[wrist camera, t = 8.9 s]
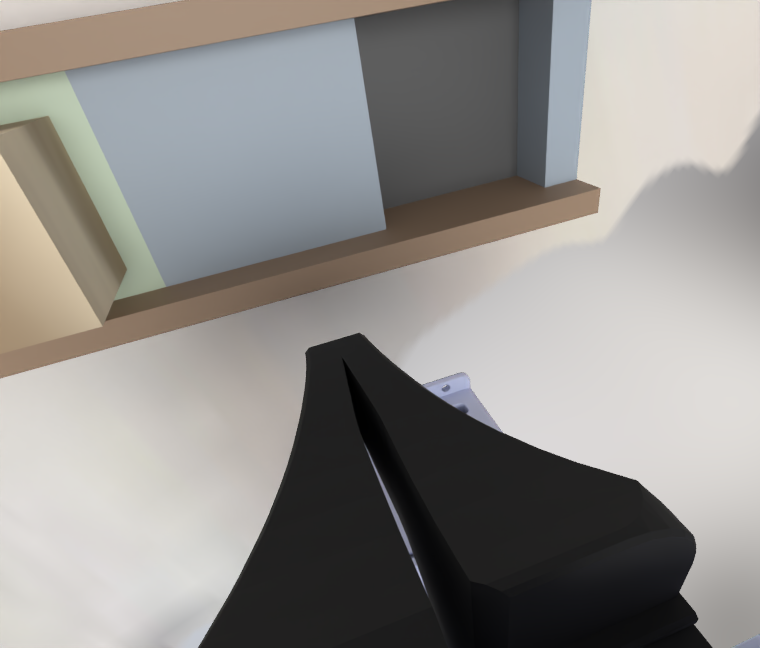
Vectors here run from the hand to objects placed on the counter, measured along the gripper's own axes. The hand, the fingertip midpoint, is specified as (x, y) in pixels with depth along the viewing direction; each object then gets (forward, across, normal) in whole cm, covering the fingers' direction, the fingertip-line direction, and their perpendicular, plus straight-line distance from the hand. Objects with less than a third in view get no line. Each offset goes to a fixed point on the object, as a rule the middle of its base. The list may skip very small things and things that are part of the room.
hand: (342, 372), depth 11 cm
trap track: (+10, +3, -3) cm, 11 cm away
